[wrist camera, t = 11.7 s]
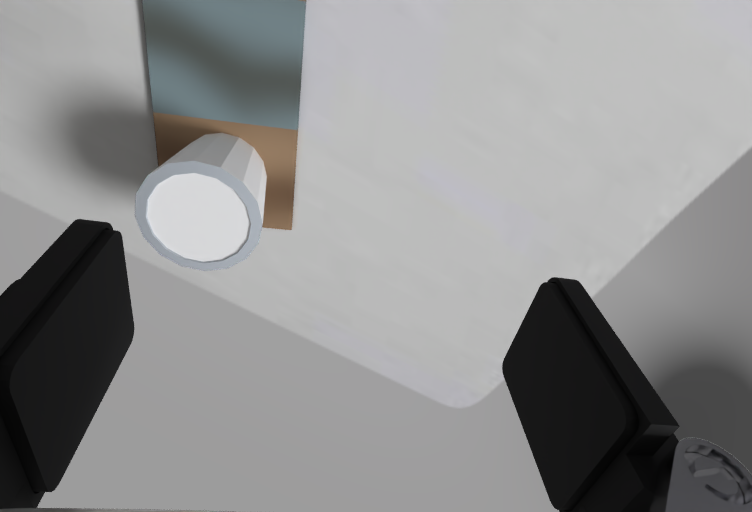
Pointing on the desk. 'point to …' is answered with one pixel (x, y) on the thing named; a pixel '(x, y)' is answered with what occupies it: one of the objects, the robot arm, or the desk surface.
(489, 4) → the desk surface
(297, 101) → the game board
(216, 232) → the white cup
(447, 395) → the desk surface
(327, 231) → the desk surface
